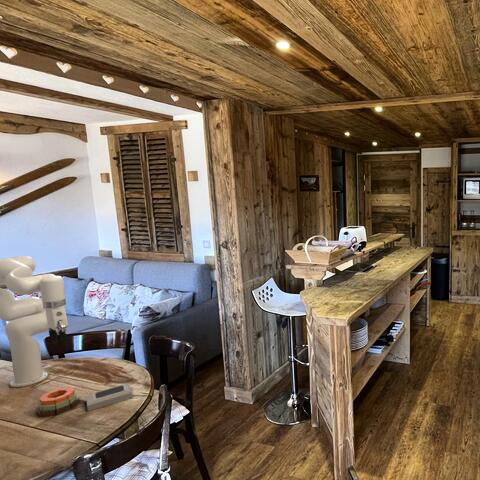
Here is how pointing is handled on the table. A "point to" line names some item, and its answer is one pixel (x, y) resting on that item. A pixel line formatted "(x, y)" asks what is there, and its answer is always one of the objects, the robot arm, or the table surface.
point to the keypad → (108, 396)
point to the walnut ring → (58, 411)
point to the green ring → (57, 406)
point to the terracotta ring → (47, 396)
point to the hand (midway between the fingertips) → (58, 339)
